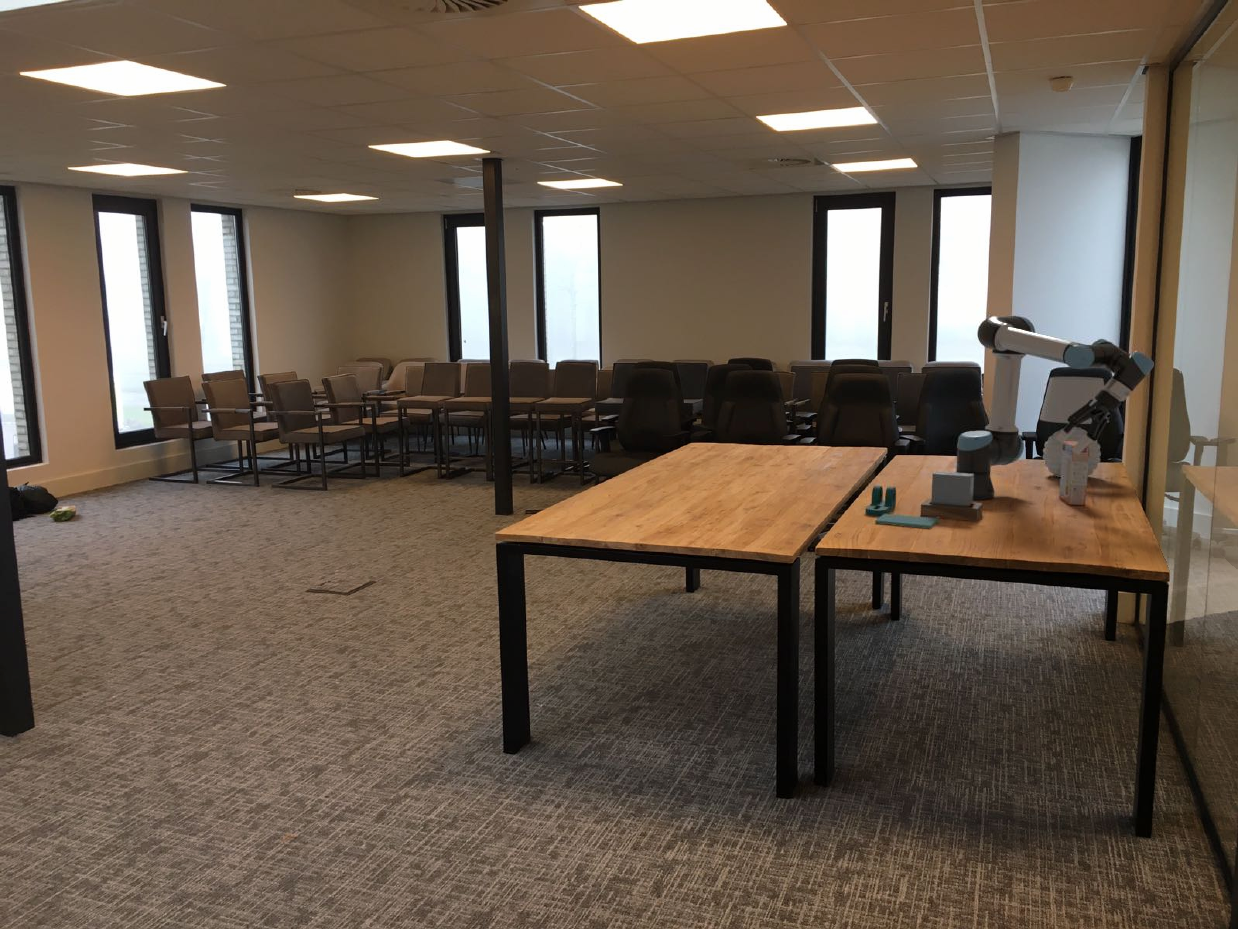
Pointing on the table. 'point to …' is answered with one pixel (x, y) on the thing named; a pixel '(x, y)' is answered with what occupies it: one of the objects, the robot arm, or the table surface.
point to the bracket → (881, 501)
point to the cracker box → (1073, 474)
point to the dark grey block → (952, 489)
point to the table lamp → (1061, 404)
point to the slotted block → (951, 511)
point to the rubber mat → (907, 520)
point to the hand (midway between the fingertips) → (1066, 446)
